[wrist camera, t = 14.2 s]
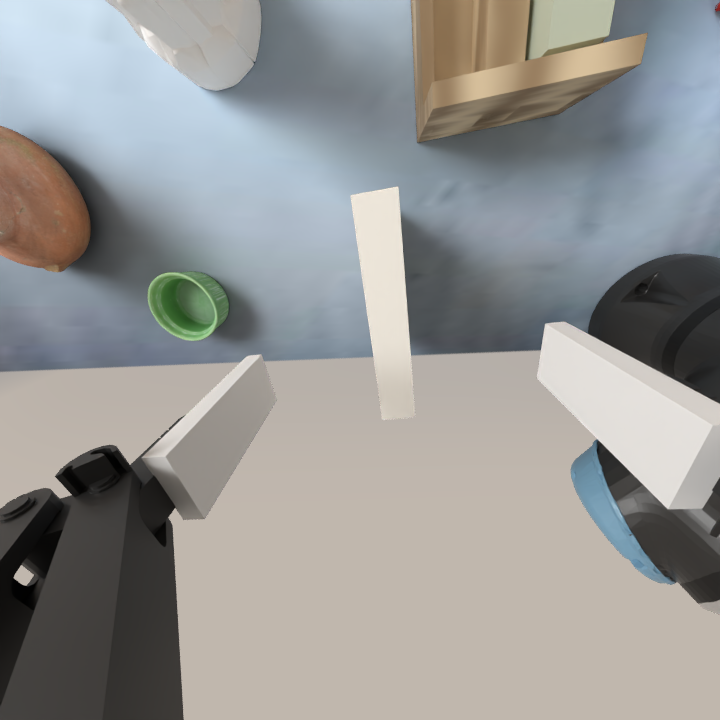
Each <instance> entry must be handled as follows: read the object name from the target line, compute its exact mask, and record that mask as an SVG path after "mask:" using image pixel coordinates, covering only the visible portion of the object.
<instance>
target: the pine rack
mask: <svg viewBox="0 0 720 720" xmlns="http://www.w3.org/2000/svg"><path fill="white" fill-rule="evenodd" d="M529 8H530V0H411V13H412V36H413V58H414V81H415V103H416V126H417V143H418V142H423V141H428V140H433V139H438V138H443V137H447V136H452V135H457V134H462V133H467V132H472V131H477V130H482V129H487V128H492V127H497V126H502V125H507V124H512V123H517V122H521V121H526V120H531V119H536V118H541V117H546V116H551V115H556V114H560V113H561V112H563V111H565V110H566V109H568V108H569V107H571V106H573V105H574V104H576V103H578V102H579V101H581V100H582V99H584V98H586V97H587V96H589V95H591V94H592V93H594V92H596V91H597V90H599V89H600V88H602V87H604V86H605V85H607V84H609V83H610V82H612V81H614V80H615V79H617V78H618V77H620V76H622V75H623V74H625V73H627V72H628V71H630V70H632V69H633V68H635V67H636V66H638V65H640V64H641V61H642V56H643V52H644V48H645V43H646V39H647V34H648V33H645V34H640V35H636V36H632V37H627V38H623V39H619V40H614V41H610V42H605V43H603V41H604V40H603V41H602V42H600V43H599V44H597V45H592V46H588V47H584V48H579V49H575V50H571V51H566V52H562V53H557V54H553V55H549V56H544V57H540V58H536V59H531V60H527V61H525V53H526V42H527V31H528V19H529Z"/></svg>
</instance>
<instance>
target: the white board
mask: <svg viewBox="0 0 720 720" xmlns="http://www.w3.org/2000/svg"><path fill="white" fill-rule="evenodd" d="M351 202H352V209H353V216H354V223H355V230H356V237H357V244H358V251H359V258H360V265H361V273H362V280H363V287H364V294H365V301H366V308H367V315H368V322H369V329H370V336H371V343H372V350H373V357H374V364H375V371H376V378H377V385H378V391H379V398H380V406H381V413H382V420H388V419H401V418H414V417H415V407H414V393H413V379H412V367H411V352H410V339H409V325H408V312H407V298H406V285H405V271H404V258H403V244H402V231H401V217H400V203H399V190H398V187H392V188H387V189H381V190H376V191H370V192H365V193H360V194H354V195H351Z"/></svg>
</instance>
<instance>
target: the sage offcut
mask: <svg viewBox="0 0 720 720" xmlns="http://www.w3.org/2000/svg"><path fill="white" fill-rule="evenodd" d="M614 4H615V0H530V8H529V19H528V31H527V42H526V53H525V61H527V60H531V59H536V58H540V57H544V56H549V55H553V54H557V53H562V52H566V51H571V50H575V49H579V48H584V47H588V46H592V45H597V44H599V43H600V42H602V41H603V40H604V39H605V38H606V37H608V36H609V32H610V26H611V21H612V15H613V10H614Z"/></svg>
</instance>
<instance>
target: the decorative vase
mask: <svg viewBox="0 0 720 720" xmlns="http://www.w3.org/2000/svg"><path fill="white" fill-rule="evenodd" d="M105 1H107V2H108V3H109V4H110V5H112V6H113V7H114V8H115V9H117V10H118V11H119V12H120V13H122V14H123V15H124V16H125V18H126V19H127V21H128V22H129V23H130V25H131V26H132V27H133V29H134V30H135V32H136V33H137V34H138V36H139V37H140V38H141V39H142V40H144V41H145V42H146V44H147V45H148V47H149V48H150V49H151V50H153V51H154V52H155V53H156V54H157V55H158V56H160V57H161V58H162V59H163V60H164V61H166V62H167V63H168V64H170V65H171V66H172V67H174V68H175V69H176V70H178V71H179V72H180V73H182V74H183V75H184V76H186V77H187V78H188V79H190V80H191V81H192V82H194V83H195V84H196V85H198V86H199V87H201V86H202V87H203V88H205V89H209V90H215V91H219V90H223V89H227V88H230V86H231V87H233V86H234V85H236V84H238V83H239V82H240V81H241V80H242V79H243V77H244V76H245V75H246V74H247V73H248V72H249V71H250V70H251V68H252V67H253V66H254V62H256V58H257V53H258V48H259V42H260V35H261V19H262V15H261V6H260V3H259V0H105Z"/></svg>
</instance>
